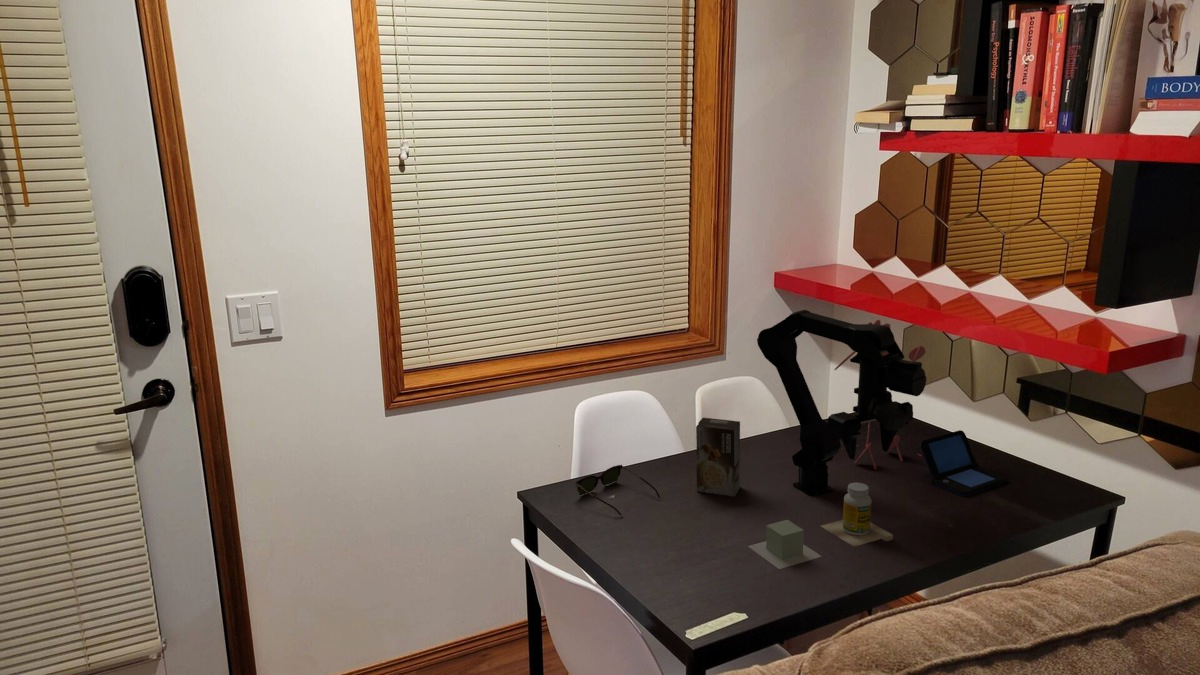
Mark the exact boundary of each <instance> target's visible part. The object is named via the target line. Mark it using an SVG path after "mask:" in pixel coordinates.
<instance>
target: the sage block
mask: <svg viewBox="0 0 1200 675" xmlns="http://www.w3.org/2000/svg"><path fill="white" fill-rule="evenodd" d="M765 530H766V531H765V541H766V549H767V550H768V551H770V552H771V553H773V554H774V555H775V556H777V557H778V558H780V559H781V560H784V559H787V558H790V557H794V556H797V555H800V554H803V544H804V535H805V534H804V533H805V532H804V531H805V530H804V529H803V528H801V527H800V526H798V525H796V524H795V523H793V522H792V521H791V520H788V519H783V520H781V521H777V522H774V523H770V524H767V525H766V526H765Z"/></svg>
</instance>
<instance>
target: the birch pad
mask: <svg viewBox="0 0 1200 675" xmlns="http://www.w3.org/2000/svg"><path fill="white" fill-rule="evenodd" d="M820 527H821V528H823V529H824V530H826V531H827V532H829V533H831V534H832V535H834V536H835V537H837V538H839V539H840V540H842V541H844V542H845V543H847V544H848V545H851V546H852V547H854V548H855V547H858V546H861V545H865V544H868V543H872V542H875V541H879V540H883V541H884V542H890V541H892V540H893V539H894V534H892V533H891V532H888V531H887V530H885V529H883V528H881V527H879V526H878V525H876V524H874V523H872V522H871V521H870V530H869V533H867V534H866V535H861V536H857V535H851V534H849V533H847V532H845V531H844V530H843V519H840V520H836V521H832V522H829V523H826V524H822V525H821V524H820Z"/></svg>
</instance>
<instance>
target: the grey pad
mask: <svg viewBox="0 0 1200 675" xmlns="http://www.w3.org/2000/svg"><path fill="white" fill-rule="evenodd" d="M747 547H748V548H749V549H750V550H752V551H753V552H755V553H756V554H757V555H759V556H760V557H762V558H763V559H764V560H765V561H767V562H769V563H770V564H772V566H775V568H777V569H778V570H781V569H786V568H789V567H792V566H796V565H798V564H802V563H805V562H808V561H811V560H815V559H818V558H822V557H823V556H822V555H820V554H819V553H817V552H816V551H815V550H813V549H812V548H809V547H808V546H807V545H805V544H804V543H803V554H800V555H797V556H794V557H790V558H787V559H784V560H781V559H780V558H778V557H777V556H775V555H774V554H773V553H771V552H770V551H768V550H767V549H766V540H764V541H762V542H758V543H755V544H751V545H747Z"/></svg>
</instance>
